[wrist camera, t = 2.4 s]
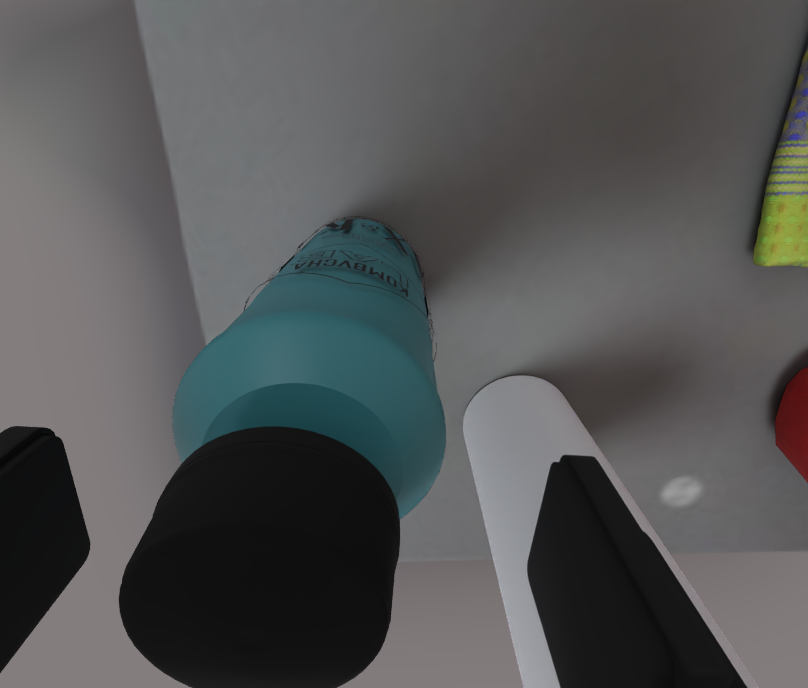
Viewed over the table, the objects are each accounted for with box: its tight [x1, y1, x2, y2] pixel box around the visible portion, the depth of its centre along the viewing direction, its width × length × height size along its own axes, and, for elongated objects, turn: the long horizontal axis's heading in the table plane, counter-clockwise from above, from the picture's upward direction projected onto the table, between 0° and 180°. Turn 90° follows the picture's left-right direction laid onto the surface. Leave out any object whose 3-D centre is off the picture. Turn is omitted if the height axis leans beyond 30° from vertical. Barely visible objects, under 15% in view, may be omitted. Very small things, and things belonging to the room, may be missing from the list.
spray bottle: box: [463, 375, 759, 688], centre depth 17 cm, size 7×7×25 cm
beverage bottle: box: [119, 216, 446, 688], centre depth 15 cm, size 6×7×20 cm
